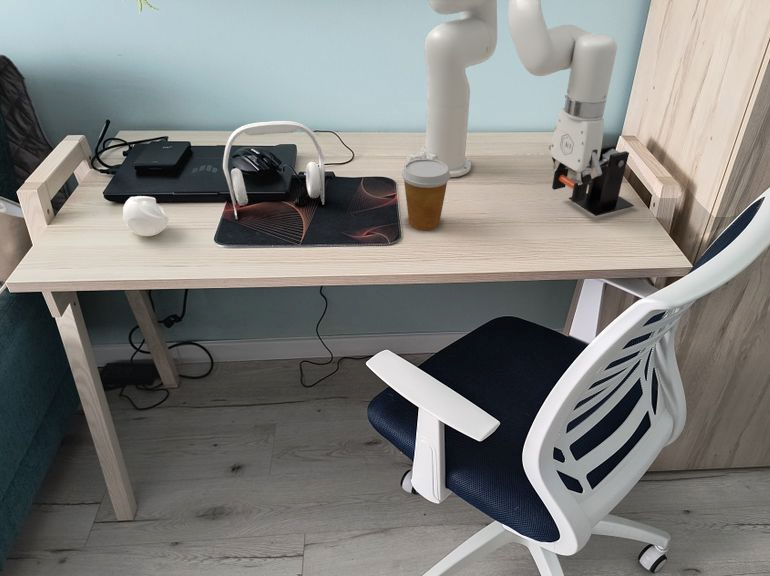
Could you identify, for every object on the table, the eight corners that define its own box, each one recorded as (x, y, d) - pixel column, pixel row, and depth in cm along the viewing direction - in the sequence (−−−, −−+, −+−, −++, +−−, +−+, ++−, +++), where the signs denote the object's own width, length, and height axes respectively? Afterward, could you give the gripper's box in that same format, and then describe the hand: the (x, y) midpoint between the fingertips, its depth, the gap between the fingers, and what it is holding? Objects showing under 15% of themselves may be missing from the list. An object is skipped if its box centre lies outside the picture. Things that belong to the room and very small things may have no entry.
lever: (575, 194, 131) (575, 185, 129) (558, 183, 134) (557, 174, 133) (625, 165, 133) (625, 155, 131) (607, 155, 137) (607, 145, 135)
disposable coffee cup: (453, 217, 134) (456, 162, 126) (438, 238, 127) (441, 181, 119) (410, 208, 136) (411, 154, 128) (393, 228, 129) (394, 172, 121)
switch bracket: (594, 220, 136) (607, 162, 127) (567, 202, 142) (578, 146, 133) (632, 209, 140) (647, 153, 132) (605, 193, 146) (618, 138, 138)
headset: (323, 194, 139) (318, 112, 128) (330, 209, 134) (325, 124, 123) (229, 204, 134) (214, 119, 122) (232, 220, 129) (217, 133, 117)
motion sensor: (175, 238, 122) (166, 201, 117) (134, 247, 119) (123, 210, 114) (164, 220, 127) (155, 184, 122) (124, 229, 124) (113, 192, 119)
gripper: (541, 95, 126) (529, 181, 138) (599, 124, 115) (580, 215, 126) (571, 90, 129) (556, 175, 141) (630, 118, 118) (609, 208, 129)
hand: (568, 193), depth 133 cm, fingers closed on lever, 5 cm apart
